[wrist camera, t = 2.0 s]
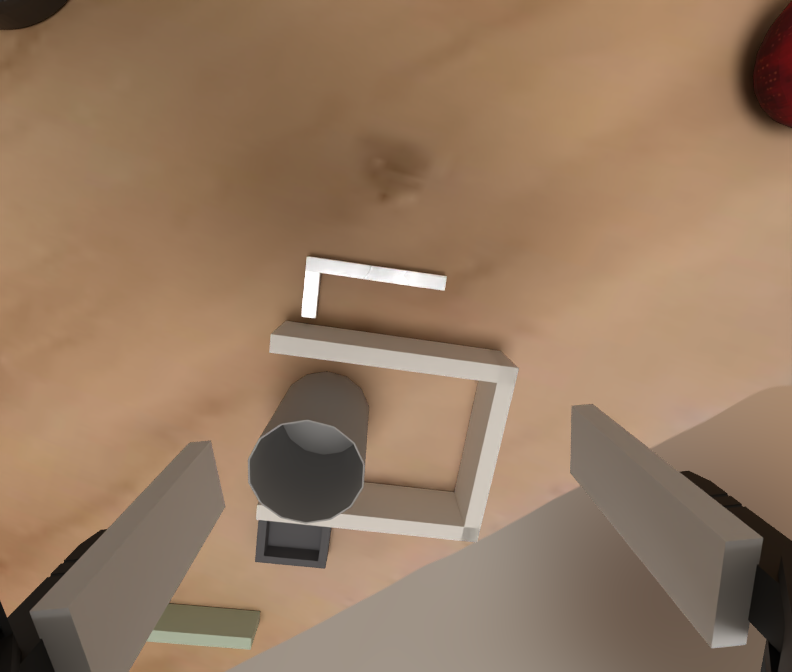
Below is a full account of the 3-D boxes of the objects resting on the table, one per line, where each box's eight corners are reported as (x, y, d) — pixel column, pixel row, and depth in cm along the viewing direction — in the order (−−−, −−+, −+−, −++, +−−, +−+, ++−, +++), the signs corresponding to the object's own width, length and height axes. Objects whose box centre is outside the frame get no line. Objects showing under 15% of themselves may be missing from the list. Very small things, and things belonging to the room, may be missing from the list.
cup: (335, 355, 37) (318, 398, 27) (386, 421, 38) (387, 484, 29) (263, 404, 37) (222, 463, 28) (316, 466, 39) (295, 541, 30)
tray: (260, 546, 41) (255, 561, 39) (266, 479, 39) (260, 492, 37) (327, 553, 42) (325, 568, 40) (336, 487, 40) (334, 500, 38)
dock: (137, 611, 43) (120, 639, 40) (137, 530, 40) (118, 553, 37) (259, 622, 44) (250, 649, 41) (266, 543, 41) (257, 566, 38)
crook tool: (303, 314, 36) (301, 316, 34) (309, 255, 34) (306, 256, 33) (434, 331, 36) (436, 334, 35) (444, 275, 35) (446, 276, 34)
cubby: (271, 484, 40) (256, 519, 35) (285, 320, 36) (270, 334, 31) (465, 506, 41) (476, 542, 36) (500, 350, 37) (518, 368, 32)
